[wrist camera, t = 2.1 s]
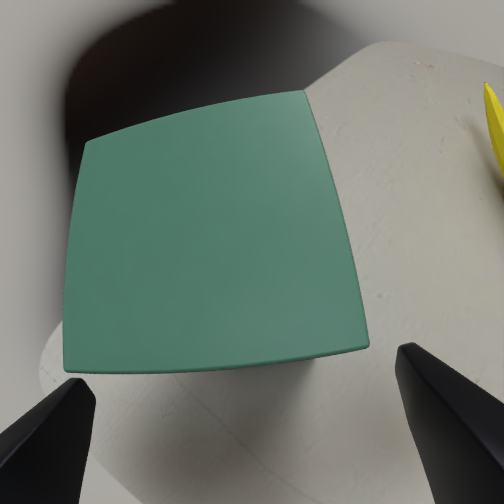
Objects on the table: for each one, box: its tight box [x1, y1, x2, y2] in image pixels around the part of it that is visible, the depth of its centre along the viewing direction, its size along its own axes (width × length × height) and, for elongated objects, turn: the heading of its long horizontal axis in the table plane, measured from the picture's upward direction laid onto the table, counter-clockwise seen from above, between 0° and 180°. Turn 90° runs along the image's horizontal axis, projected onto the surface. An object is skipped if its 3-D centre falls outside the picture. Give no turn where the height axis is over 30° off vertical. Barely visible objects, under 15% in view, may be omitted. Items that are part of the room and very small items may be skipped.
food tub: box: [63, 90, 370, 374], centre depth 13 cm, size 6×6×13 cm
